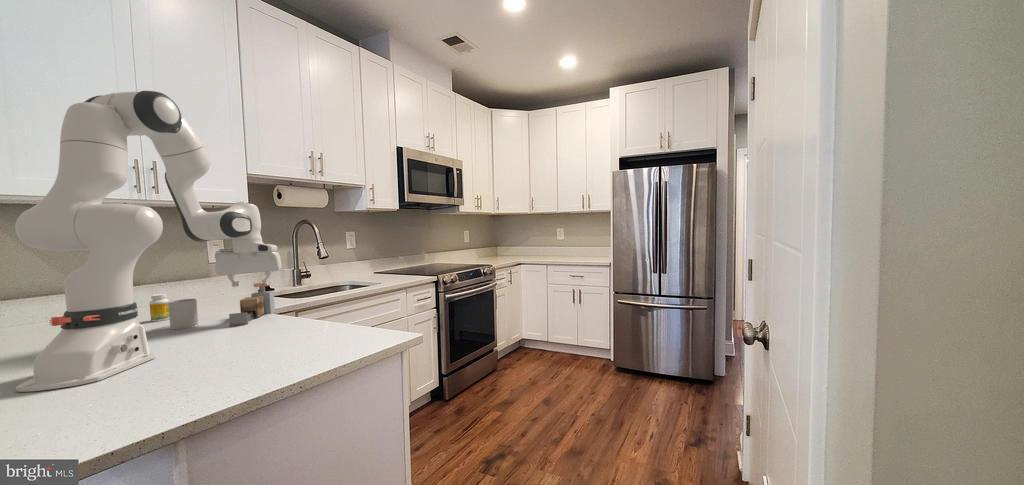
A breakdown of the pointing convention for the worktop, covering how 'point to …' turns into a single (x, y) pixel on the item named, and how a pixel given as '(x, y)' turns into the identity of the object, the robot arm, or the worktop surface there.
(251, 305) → the carriage
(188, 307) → the cup
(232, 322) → the rail
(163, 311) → the supplement bottle
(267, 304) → the gauge cabinet
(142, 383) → the worktop surface
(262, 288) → the plunger
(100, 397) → the worktop surface
